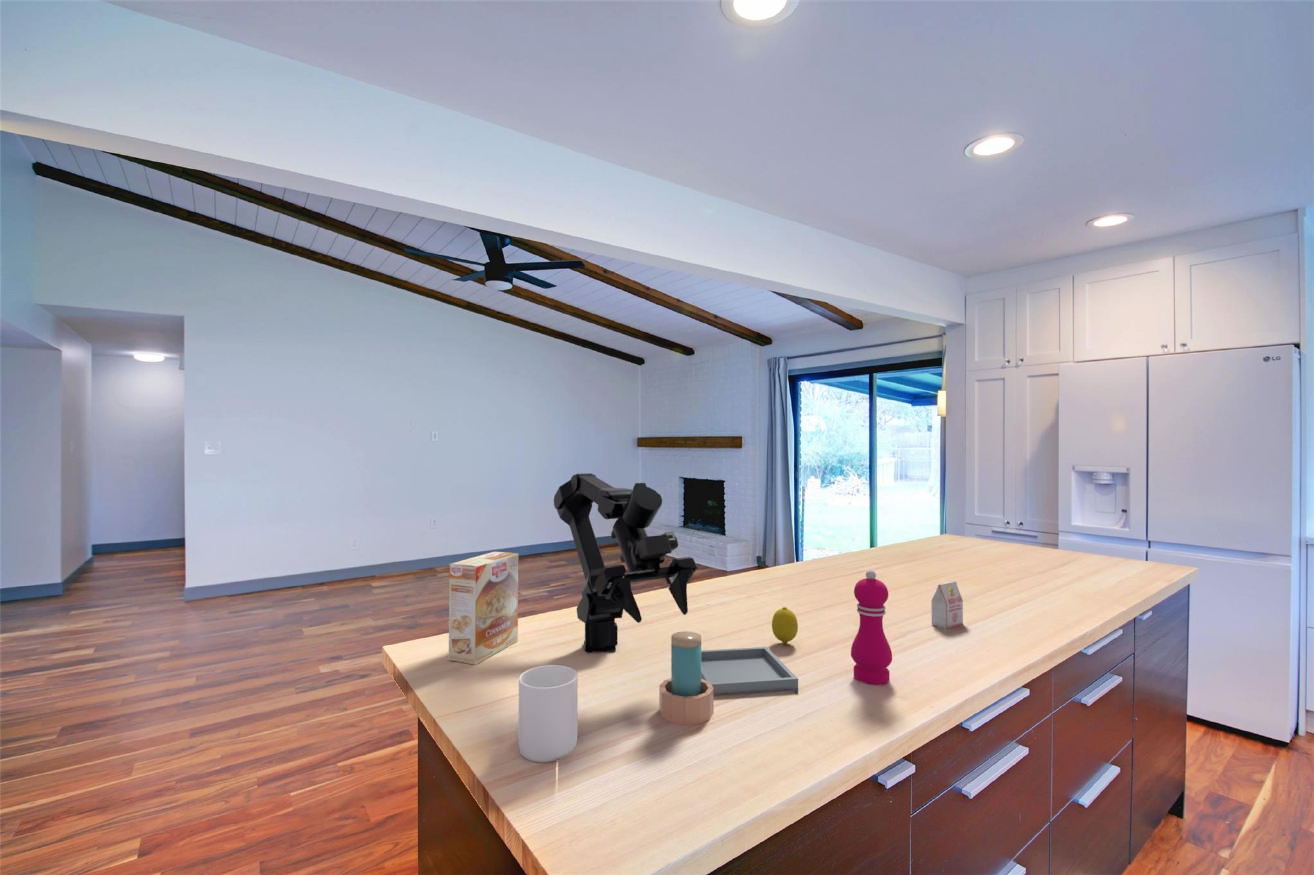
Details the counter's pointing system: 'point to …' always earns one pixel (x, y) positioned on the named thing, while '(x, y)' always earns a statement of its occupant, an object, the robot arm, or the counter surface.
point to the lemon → (784, 625)
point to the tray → (746, 671)
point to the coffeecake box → (483, 606)
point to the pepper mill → (871, 632)
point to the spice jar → (686, 664)
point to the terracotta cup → (686, 704)
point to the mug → (548, 712)
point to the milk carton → (947, 606)
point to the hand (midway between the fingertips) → (663, 617)
